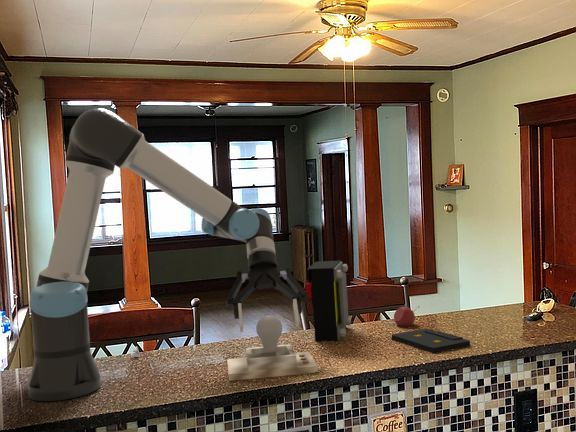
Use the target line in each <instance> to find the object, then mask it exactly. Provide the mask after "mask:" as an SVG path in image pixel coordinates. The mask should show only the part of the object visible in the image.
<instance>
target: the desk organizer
mask: <svg viewBox="0 0 576 432" xmlns="http://www.w3.org/2000/svg"><path fill="white" fill-rule="evenodd" d="M226 361H227V372H228V373H227V374H228V382H232V381H233V382H234V381H241V380H243V381H244V380H251V379H253V380H254V379H261V378H262V379H263V378H273V377H275V378H276V377H283V376H285V377H286V376H294V375H295V376H296V375H305V374H316V373H315V372H318V373H319V371H318V370H319V367H318V365H317V363H316V361H315V359H314V357H313V356H312V355H311V353H310V351H302V352H295V350H294V348H293V347H292V344H279V345H278V344H277V351H276V356H270V357H265V352H264V349H263V346H257V347H254V346H253V347H246V348H245V357H237V358H234V357H233V358H227V360H226Z"/></svg>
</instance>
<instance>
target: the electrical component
mask: <svg viewBox="0 0 576 432" xmlns="http://www.w3.org/2000/svg"><path fill="white" fill-rule="evenodd" d="M348 270H349V266H348V264H347V263H343V261H342V260H328V261H327V260H325V261H324V260H321V261H316V262H314V263H313V264H311V265H310V266H309V267H307V268H306V280H307V282H305V283H304V285H305V286H304V289H305V291H306V292H307V299H309V298H310V299H311V305H312V310H313V328H314V329H313V330H314V342H338V341H340V340H341V338H342V337H346V335H347V330H346V328H347V326H349V327H350V326H351V324H352V320H351V318H350V317H349V305H348V302H349V301H348V285H347V273H346V272H348Z"/></svg>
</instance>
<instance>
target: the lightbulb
mask: <svg viewBox="0 0 576 432" xmlns="http://www.w3.org/2000/svg"><path fill="white" fill-rule="evenodd" d="M255 330H256V334H257V336H258V338H259V340H260V341H261V343H262V347H263V349H264V352H265V357H270V356H276V351H277V345H278V343H279V339H280V337H281V336H282V332H283V324H282V322H281V320H280V319H279V318H278V317H277V316H274V315H271V314H270V315H269V314H268V315H265V316H262V317H261V318H260V319H258V321H257V323H256V327H255Z"/></svg>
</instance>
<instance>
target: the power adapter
mask: <svg viewBox="0 0 576 432" xmlns="http://www.w3.org/2000/svg"><path fill="white" fill-rule="evenodd" d="M134 347H135V348H134ZM134 347H132V348H133V350H132V352H133V353H130V358H133V357H138V358H137V359H139V358H140V355H139V354H140V351H139V348H138V347H139V346H134Z"/></svg>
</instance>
